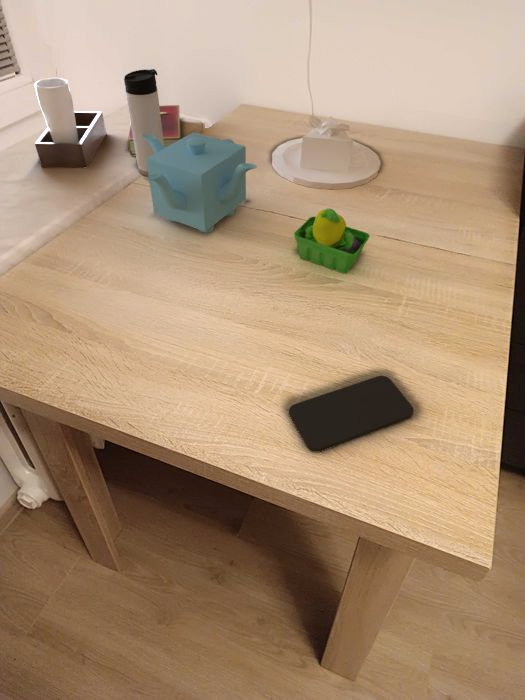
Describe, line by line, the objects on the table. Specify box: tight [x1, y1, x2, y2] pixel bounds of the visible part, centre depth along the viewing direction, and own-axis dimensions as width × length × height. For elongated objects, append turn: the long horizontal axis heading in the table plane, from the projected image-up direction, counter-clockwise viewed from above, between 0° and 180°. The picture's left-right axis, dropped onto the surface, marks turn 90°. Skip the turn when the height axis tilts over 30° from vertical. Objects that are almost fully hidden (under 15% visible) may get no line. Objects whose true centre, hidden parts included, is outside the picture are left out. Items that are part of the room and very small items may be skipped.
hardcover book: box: [127, 104, 182, 156], centre depth 123 cm, size 12×21×4 cm, turn 7°
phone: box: [288, 375, 415, 452], centre depth 64 cm, size 7×1×15 cm
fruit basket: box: [293, 208, 370, 275], centre depth 84 cm, size 11×9×11 cm
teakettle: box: [142, 131, 258, 233], centre depth 93 cm, size 19×19×15 cm
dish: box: [271, 115, 382, 190], centre depth 112 cm, size 25×25×11 cm
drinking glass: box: [34, 77, 79, 143], centre depth 109 cm, size 7×7×15 cm
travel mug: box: [123, 68, 164, 177], centre depth 105 cm, size 6×7×20 cm
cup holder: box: [34, 110, 107, 169], centre depth 117 cm, size 10×19×5 cm, turn 0°
